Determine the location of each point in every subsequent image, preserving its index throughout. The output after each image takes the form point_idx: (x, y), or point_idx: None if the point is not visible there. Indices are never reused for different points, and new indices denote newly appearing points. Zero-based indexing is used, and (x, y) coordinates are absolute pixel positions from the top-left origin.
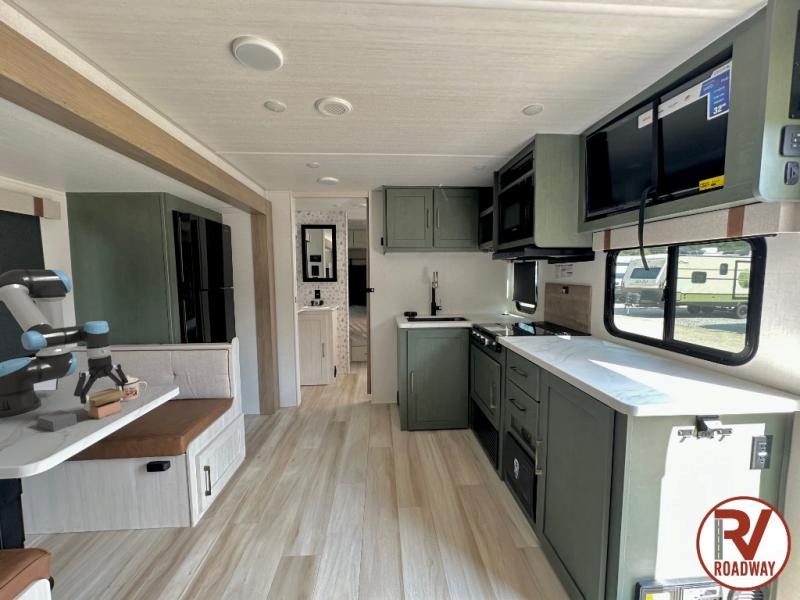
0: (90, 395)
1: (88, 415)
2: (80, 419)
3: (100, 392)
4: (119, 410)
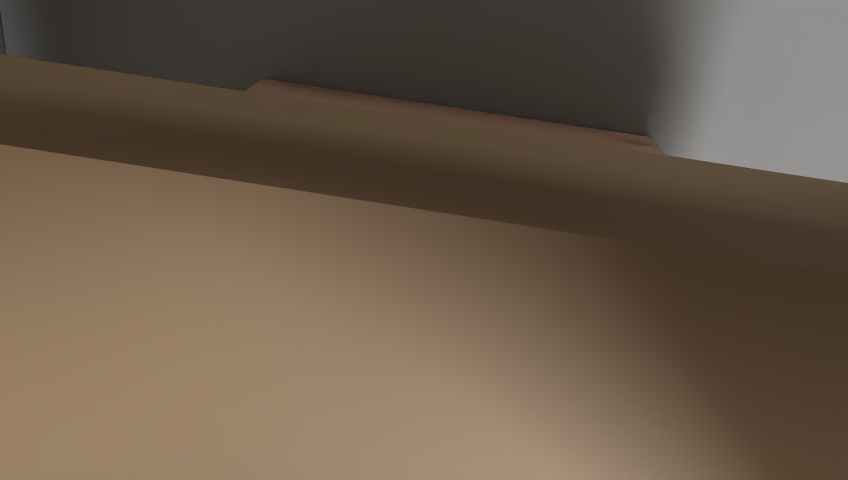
0: (69, 376)
1: (255, 88)
2: (132, 69)
3: (491, 428)
4: None
